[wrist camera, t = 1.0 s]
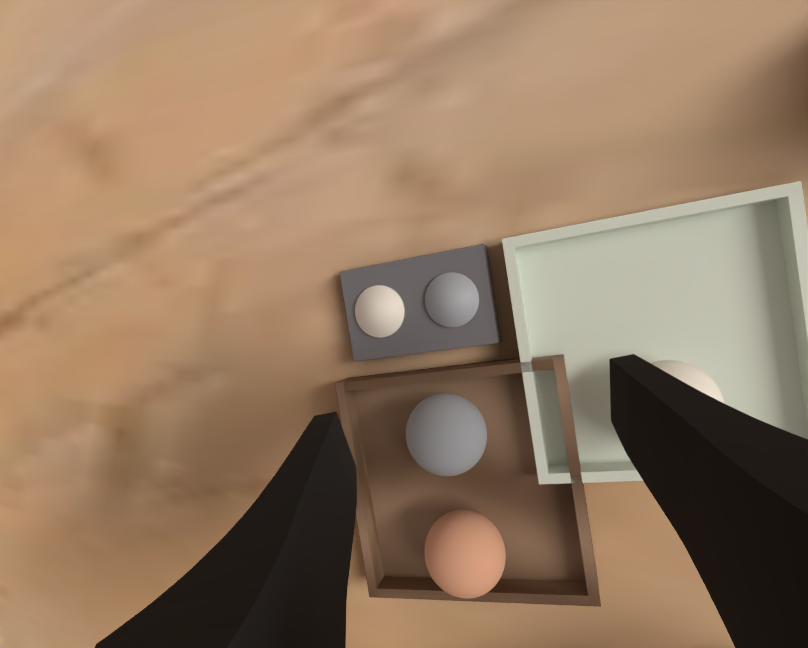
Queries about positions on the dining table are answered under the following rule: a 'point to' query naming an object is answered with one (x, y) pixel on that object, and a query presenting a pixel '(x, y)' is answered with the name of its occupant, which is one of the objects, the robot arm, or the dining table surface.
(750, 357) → the sage tray
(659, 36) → the dining table surface
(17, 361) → the dining table surface
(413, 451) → the grey ball
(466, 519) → the terracotta ball
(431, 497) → the walnut tray
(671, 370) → the cream ball
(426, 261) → the tile
